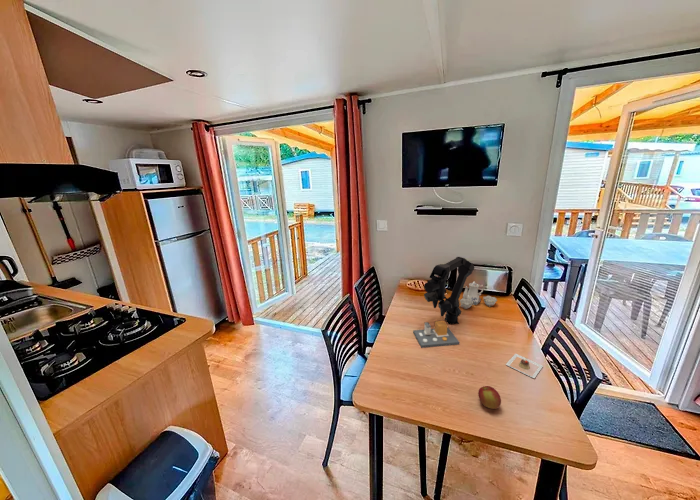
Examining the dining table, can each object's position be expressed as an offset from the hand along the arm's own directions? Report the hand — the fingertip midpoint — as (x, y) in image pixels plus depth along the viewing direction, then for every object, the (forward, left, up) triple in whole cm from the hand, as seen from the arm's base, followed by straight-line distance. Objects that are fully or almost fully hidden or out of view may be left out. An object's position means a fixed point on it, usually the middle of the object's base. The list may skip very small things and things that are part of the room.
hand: (438, 311), depth 154 cm
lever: (+8, +5, -10) cm, 14 cm away
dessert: (-29, +34, -13) cm, 46 cm away
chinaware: (-37, -25, -12) cm, 47 cm away
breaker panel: (+4, +8, -12) cm, 15 cm away
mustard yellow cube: (0, +5, -10) cm, 12 cm away
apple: (+1, +53, -12) cm, 54 cm away
